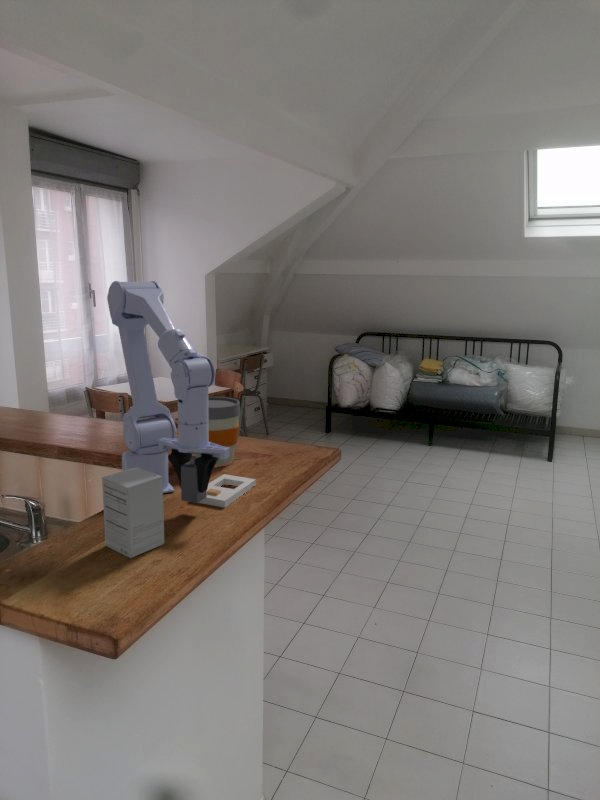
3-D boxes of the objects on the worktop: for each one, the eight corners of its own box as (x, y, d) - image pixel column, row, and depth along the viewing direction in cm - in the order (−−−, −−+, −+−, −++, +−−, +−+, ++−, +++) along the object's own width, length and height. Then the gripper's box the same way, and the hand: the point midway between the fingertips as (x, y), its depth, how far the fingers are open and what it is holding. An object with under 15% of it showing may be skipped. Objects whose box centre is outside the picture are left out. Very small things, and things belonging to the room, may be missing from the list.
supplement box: (139, 532, 113) (137, 466, 111) (165, 544, 109) (164, 475, 106) (103, 546, 108) (100, 476, 105) (129, 559, 103) (127, 486, 100)
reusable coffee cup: (246, 466, 151) (247, 406, 148) (195, 471, 146) (194, 409, 143) (232, 451, 162) (232, 395, 159) (184, 456, 158) (183, 398, 154)
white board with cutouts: (224, 507, 125) (224, 497, 125) (190, 501, 128) (190, 491, 128) (255, 485, 138) (255, 476, 138) (223, 480, 141) (223, 471, 141)
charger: (197, 503, 120) (196, 460, 118) (181, 500, 121) (180, 458, 119) (206, 497, 123) (206, 455, 121) (191, 494, 124) (190, 453, 122)
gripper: (148, 421, 117) (150, 489, 120) (216, 431, 112) (216, 502, 115) (169, 413, 124) (171, 478, 127) (234, 422, 118) (234, 490, 121)
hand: (193, 489), depth 121 cm, fingers closed on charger, 3 cm apart
